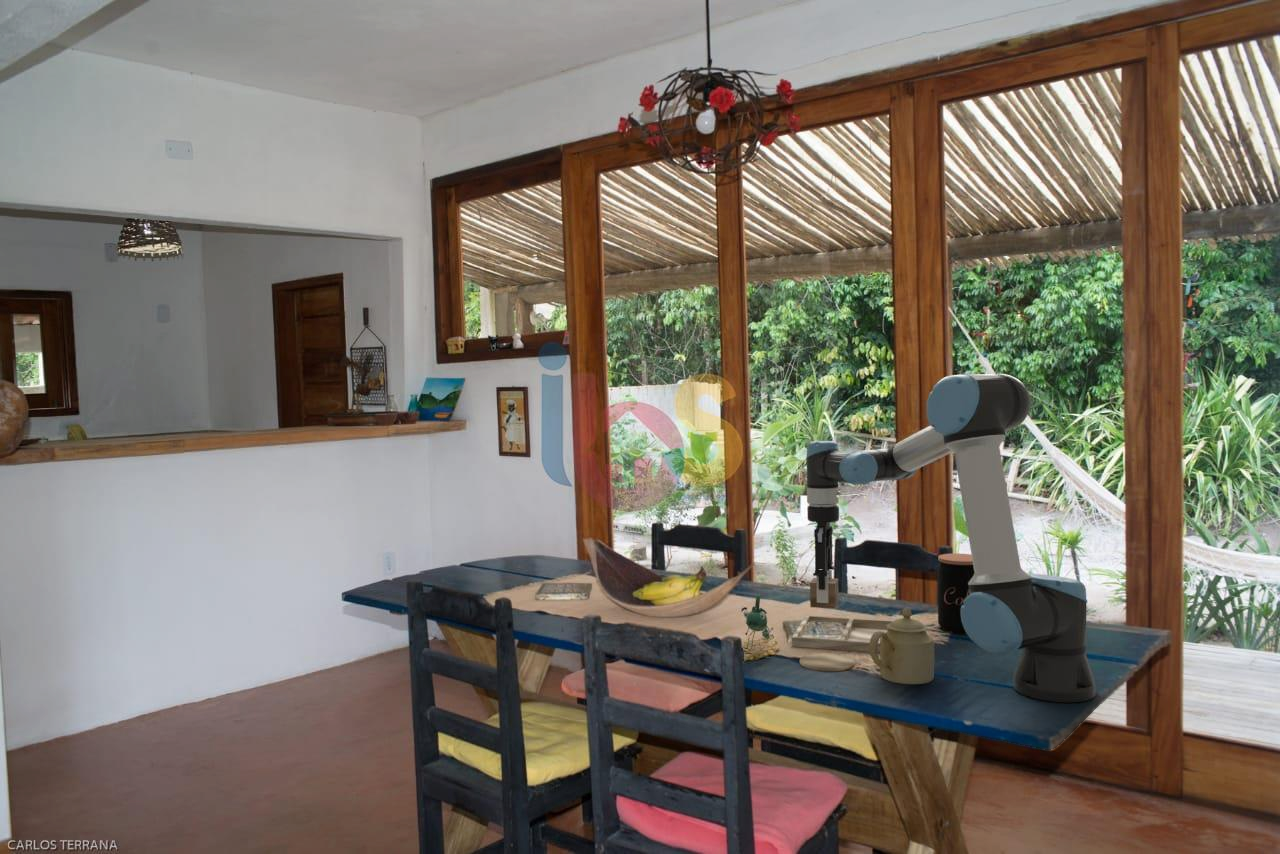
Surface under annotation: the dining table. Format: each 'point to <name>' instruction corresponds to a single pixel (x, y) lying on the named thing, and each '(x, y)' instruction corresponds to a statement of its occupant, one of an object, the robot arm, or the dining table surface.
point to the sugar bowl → (904, 651)
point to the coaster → (827, 662)
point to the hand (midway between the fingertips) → (824, 599)
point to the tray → (851, 639)
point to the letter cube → (832, 594)
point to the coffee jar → (953, 589)
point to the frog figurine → (764, 645)
